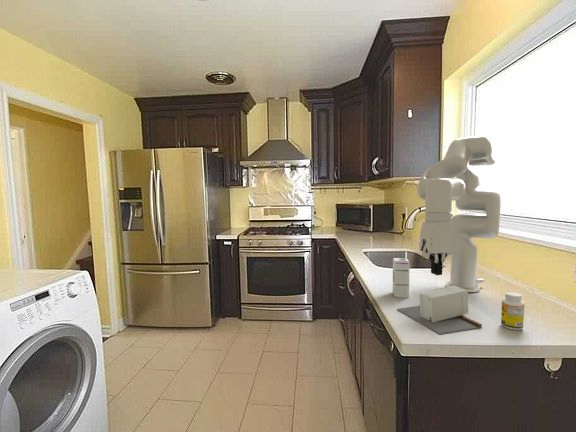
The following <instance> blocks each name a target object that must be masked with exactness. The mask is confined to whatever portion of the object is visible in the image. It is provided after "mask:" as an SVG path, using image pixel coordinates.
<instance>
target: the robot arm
mask: <svg viewBox="0 0 576 432" xmlns="http://www.w3.org/2000/svg"><path fill="white" fill-rule="evenodd" d="M498 159H499V148H498V145H497V144H496V142H495V141H494V140H493V138H492V137H490V136H487V135H478V136H466V137H459V138H456V139H454V140H453V141H452V142H451V143H450V144H449V146H448V149H447V151H446V153H445V156H444V157H443V159H442V160H439V161H437V162H436V163H434V164H432V165H431V166H429V167H427V168H426V169H425V170H424V171H423V173H422V175H421V177H420V179H419V181H418V185H417V190H416V191H417V196H418V197H419V198H420V199H421V200H424V202H425V203H424V204H425V206H424V207H425V208H424V212H425V213H424V221H423V222H422V224H421V228H420V233H419V242H418V243H419V244H418V245H419V246H418V249H419V250H418V251H420V252H422V253H421V257H422V258H426V259H428V261H429V262H430V274H433V275H436V276H442V275H443V264H444V263H445V260H446V258H447V257H449V256H450V257H451V258H450V260H451V261H450V278H449V279H450V281H447V282H446V283H445V287H449V286H457V287H460V288H463V289H466V290H468V293H477V292H479V291H481V289H480V288H481V287H480V286H479V285H478V284H484V283H485V279H484V278H483V277H482V278H478V277H477V263H478V262H477V260H478V246H477V245H476V243H475V242H474V240H473V238H475V239H486V240H490V239H491V240H493V239H495V238H497V236H498V235H499V231H500V222H501V221H500V218H501V194H500V191H498V189H496V188H492V187H489V188H488V187H486V188H485V187H484V188H483V187H482V188H481V187H480V186H481V185H480V181H481V176H480V174H479V173H478V171H477V170H476V169H475V168H474V167H475V166H477V167H478V166H491V165H494V164H495V163H496V162H497V161H498ZM473 166H474V167H473ZM453 201H454V202H455V207H456V209H458V211H459V210H460V211H463V212H464V211H465V212H481V213H482V212H483V213H486V214H472V213H471V214H469V213H460V214H459V213H458V214H455V215H454V214H453V213H452V210H453V209H452V208H453V204H452V203H453Z"/></svg>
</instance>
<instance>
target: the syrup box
mask: <svg viewBox="0 0 576 432" xmlns="http://www.w3.org/2000/svg"><path fill="white" fill-rule="evenodd" d="M392 294H393V297H395V298H403V299H404V298H405V299H407V298H408V299H409V298H410V260H409V259H408V258H405V257H394V258H392Z"/></svg>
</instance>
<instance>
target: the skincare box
mask: <svg viewBox="0 0 576 432" xmlns="http://www.w3.org/2000/svg"><path fill="white" fill-rule="evenodd" d="M419 306H420V316H421V317H423V318H425V319H427V320H429V321H431V322H433V323H434V322H437V321H441V320H445V319H449V318H452V317H456V316H460V315H463V316H465V315H468V314H469V292H468V290H466V289H463V288H460V287H457V286H449V287H446V286H445V287H442V288H437V289H432V290H427V291H424V292H419Z"/></svg>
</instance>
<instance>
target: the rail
mask: <svg viewBox="0 0 576 432" xmlns="http://www.w3.org/2000/svg"><path fill="white" fill-rule="evenodd" d="M456 317H457V318H459V319H461V320H464V321H466V322H468V323H470V324H472V325H474V326H476V327H478V329H482V328H483V327H482V325H483V324H482V323H481V322H478V321H475V320H474V319H473V318H469V317H467V316H465V315H460V316H456Z"/></svg>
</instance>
